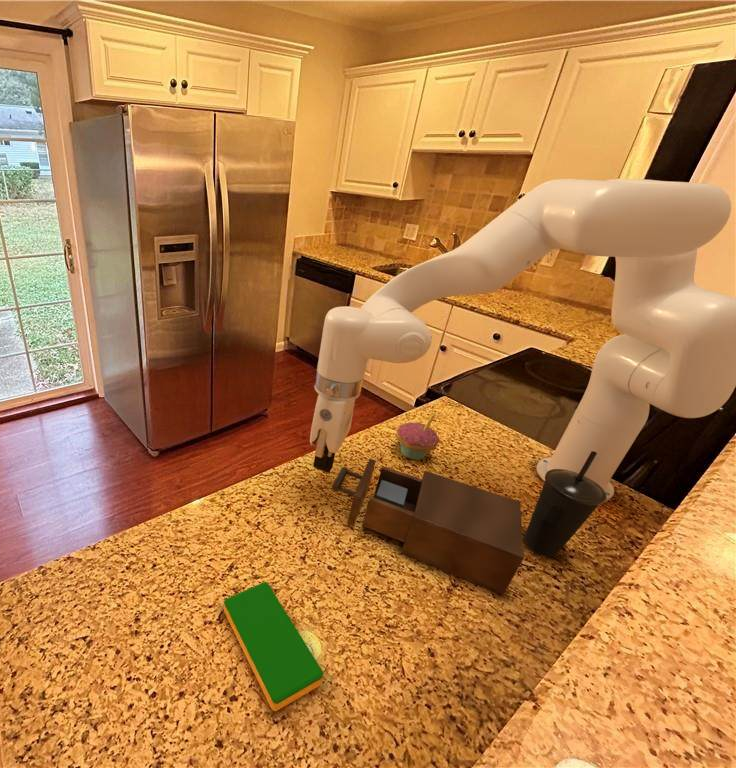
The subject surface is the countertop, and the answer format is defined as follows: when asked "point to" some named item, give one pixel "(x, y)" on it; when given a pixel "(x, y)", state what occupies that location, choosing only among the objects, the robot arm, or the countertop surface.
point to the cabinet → (466, 532)
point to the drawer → (379, 512)
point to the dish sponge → (272, 646)
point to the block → (391, 493)
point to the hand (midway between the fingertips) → (322, 467)
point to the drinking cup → (562, 508)
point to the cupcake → (417, 439)
